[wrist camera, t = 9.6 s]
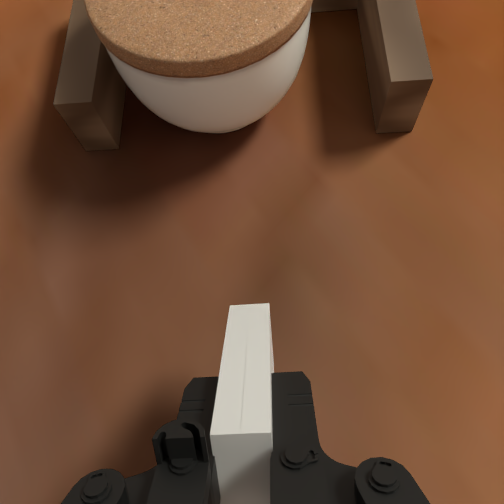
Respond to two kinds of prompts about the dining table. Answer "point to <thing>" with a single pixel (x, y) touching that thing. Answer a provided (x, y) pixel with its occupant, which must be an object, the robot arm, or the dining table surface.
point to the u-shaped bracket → (367, 4)
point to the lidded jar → (205, 55)
